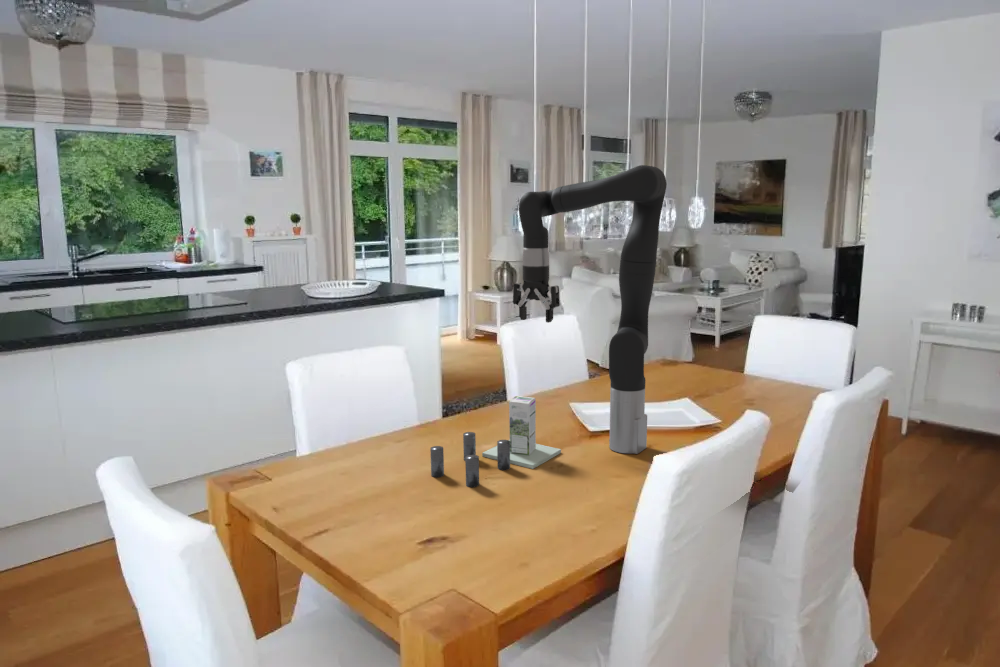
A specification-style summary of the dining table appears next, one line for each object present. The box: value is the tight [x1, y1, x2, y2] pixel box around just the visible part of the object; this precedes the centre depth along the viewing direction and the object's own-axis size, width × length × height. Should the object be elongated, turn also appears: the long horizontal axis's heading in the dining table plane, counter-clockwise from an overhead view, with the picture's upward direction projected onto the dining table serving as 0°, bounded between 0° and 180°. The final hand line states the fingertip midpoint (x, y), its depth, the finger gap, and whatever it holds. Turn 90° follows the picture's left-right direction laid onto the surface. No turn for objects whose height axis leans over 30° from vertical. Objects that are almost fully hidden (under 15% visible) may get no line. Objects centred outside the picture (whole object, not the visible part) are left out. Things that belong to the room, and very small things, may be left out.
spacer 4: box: [496, 439, 511, 471], centre depth 178 cm, size 3×3×7 cm
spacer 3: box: [464, 454, 480, 488], centre depth 168 cm, size 3×3×7 cm
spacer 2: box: [462, 431, 477, 461], centre depth 184 cm, size 3×3×7 cm
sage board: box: [481, 439, 562, 470], centre depth 188 cm, size 16×14×1 cm
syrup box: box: [508, 395, 537, 455], centre depth 186 cm, size 6×6×14 cm
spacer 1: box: [429, 445, 445, 478], centre depth 174 cm, size 3×3×7 cm
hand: (535, 320), depth 200 cm, fingers open, 8 cm apart
